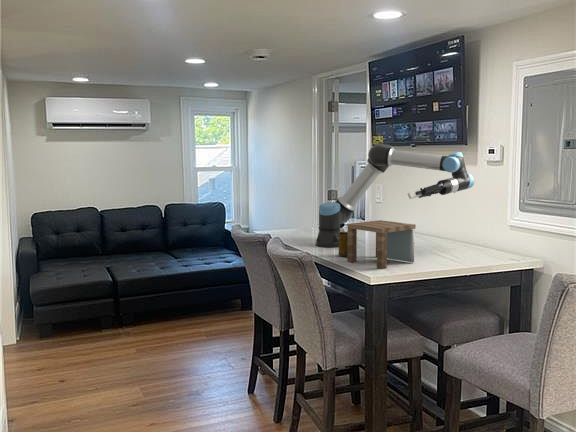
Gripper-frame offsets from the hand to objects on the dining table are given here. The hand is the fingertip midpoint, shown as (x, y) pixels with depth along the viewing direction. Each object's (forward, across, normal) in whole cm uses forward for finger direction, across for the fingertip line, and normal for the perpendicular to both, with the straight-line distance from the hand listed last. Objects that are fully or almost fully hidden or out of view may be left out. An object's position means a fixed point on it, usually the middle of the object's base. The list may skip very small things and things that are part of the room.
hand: (409, 195), depth 272 cm
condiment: (+33, +23, -17) cm, 43 cm away
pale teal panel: (+17, +3, -29) cm, 33 cm away
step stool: (+27, +4, -27) cm, 38 cm away
